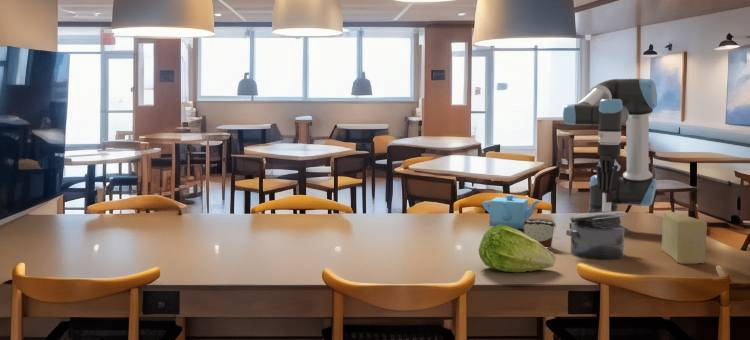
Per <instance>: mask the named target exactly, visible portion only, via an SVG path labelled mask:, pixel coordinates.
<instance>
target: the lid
mask: <svg viewBox="0 0 750 340" xmlns="http://www.w3.org/2000/svg"><path fill="white" fill-rule="evenodd" d="M592 212H593V213H588V212H587V213H581V214H580V213H579V214H578V213H577V214H573V215H570V216H569V220H570V223H578V222H592V221H593V219H604V218H613V217H619V218H620V217H625V216H626V215H627V214H626V211H625V210H619V211H618V210H617V211H611V212H601V209H596V210H592Z"/></svg>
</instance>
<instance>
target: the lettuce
mask: <svg viewBox="0 0 750 340" xmlns="http://www.w3.org/2000/svg"><path fill="white" fill-rule="evenodd" d="M478 247H479V248H478V255H479V258H480V259H481V260H480V261H482V263H483V264H484V265H485V267H488V268H491V269H494V270H498V271H501V272H505V273H507V272H508V273H526V271H529V272H533V271H539V270H545V269H549V268H553V267H554V266H555V264H556V261H557V255H556V254H554V253H553V252H552V251H550V250H549V248H545V247H544V246H543V245H542V244H540V243H539V242H538V241H536V240H534V239H532V238H530V237H528V236H527V235H525V233H524V232H523V231H521V230H520V229H518V230H516V229H514V228H511V227H509V226H506V225H501V224H500V225H497V226H491V227H490V228H489V229H488V230H486V231H485V232H484V234H483V236H482V238H481V240H480V243H479V246H478Z"/></svg>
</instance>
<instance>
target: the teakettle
mask: <svg viewBox="0 0 750 340" xmlns="http://www.w3.org/2000/svg"><path fill="white" fill-rule="evenodd" d="M541 202H542V200H534V201H533V202H531V204H530V206H529V198H517V195H514V194H505V197H500V196H499V197H497V196H496V197H494V198H493V199H491V200H486V201H483V202H482V206H483V208H484V210H486V211H487V212H488V213H489V227H495V226H497V225H500V224H501V225H506V226H509V227H511V228H514V229H516V230H522V229H524V225H522V223H523V221H524V219H530V218H531V217H532V216H533V213H534V211H535V207H536V206H537V205H538V204H539V203H541Z"/></svg>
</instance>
